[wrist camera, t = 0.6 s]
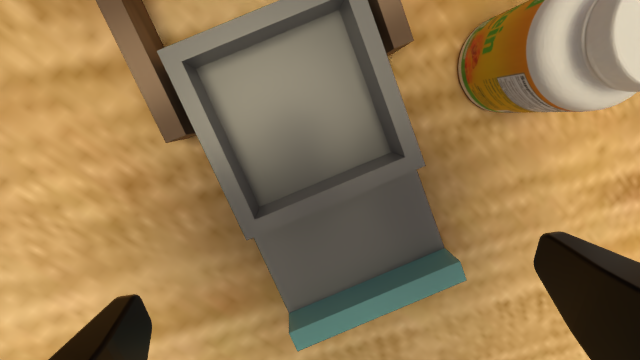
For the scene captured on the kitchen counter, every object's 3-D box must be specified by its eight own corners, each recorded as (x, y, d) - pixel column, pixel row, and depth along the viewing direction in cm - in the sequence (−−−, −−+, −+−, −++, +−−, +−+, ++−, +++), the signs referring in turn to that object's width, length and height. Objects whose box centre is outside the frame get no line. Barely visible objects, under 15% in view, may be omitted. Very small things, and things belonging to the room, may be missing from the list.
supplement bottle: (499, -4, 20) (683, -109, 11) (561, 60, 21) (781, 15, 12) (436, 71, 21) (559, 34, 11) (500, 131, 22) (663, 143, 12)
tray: (443, 259, 23) (471, 284, 19) (296, 320, 23) (297, 357, 19) (348, -7, 20) (360, -33, 16) (176, 63, 19) (152, 52, 16)
